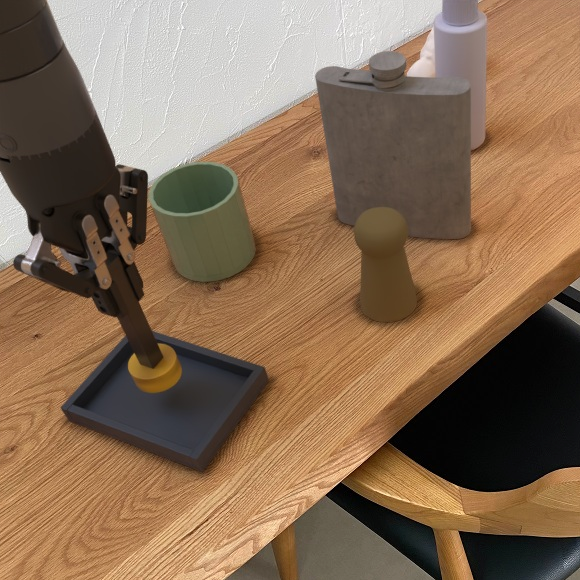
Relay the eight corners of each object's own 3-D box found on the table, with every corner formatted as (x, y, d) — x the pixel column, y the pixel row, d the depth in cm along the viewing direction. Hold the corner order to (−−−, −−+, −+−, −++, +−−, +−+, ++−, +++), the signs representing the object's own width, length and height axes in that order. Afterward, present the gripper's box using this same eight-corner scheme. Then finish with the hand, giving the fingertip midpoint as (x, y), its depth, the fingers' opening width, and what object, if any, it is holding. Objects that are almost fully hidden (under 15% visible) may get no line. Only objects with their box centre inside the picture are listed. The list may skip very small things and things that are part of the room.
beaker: (157, 270, 89) (130, 204, 82) (203, 220, 95) (182, 154, 88) (226, 290, 86) (205, 224, 79) (271, 237, 92) (254, 171, 85)
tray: (68, 421, 76) (59, 407, 75) (141, 339, 83) (134, 324, 81) (202, 472, 71) (196, 459, 70) (269, 381, 78) (264, 366, 76)
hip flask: (473, 223, 91) (474, 53, 75) (465, 246, 88) (463, 75, 73) (343, 205, 94) (317, 40, 79) (331, 226, 92) (303, 61, 77)
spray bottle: (494, 144, 100) (499, -41, 83) (451, 159, 99) (448, -26, 82) (470, 121, 104) (470, -60, 87) (429, 135, 102) (421, -46, 85)
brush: (125, 385, 73) (65, 270, 63) (153, 352, 76) (100, 236, 65) (163, 399, 72) (109, 284, 61) (191, 365, 74) (143, 248, 64)
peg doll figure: (405, 327, 81) (398, 242, 72) (351, 315, 83) (337, 231, 74) (425, 288, 84) (419, 203, 76) (372, 277, 86) (361, 193, 78)
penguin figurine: (485, 9, 104) (424, 55, 100) (488, 68, 111) (431, 113, 107) (448, -4, 107) (388, 40, 103) (453, 55, 114) (397, 98, 110)
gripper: (62, 61, 59) (138, 245, 72) (-78, 165, 51) (36, 349, 64) (143, 78, 56) (207, 265, 70) (9, 189, 49) (109, 375, 62)
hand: (124, 305), depth 67 cm, fingers closed on brush, 1 cm apart
